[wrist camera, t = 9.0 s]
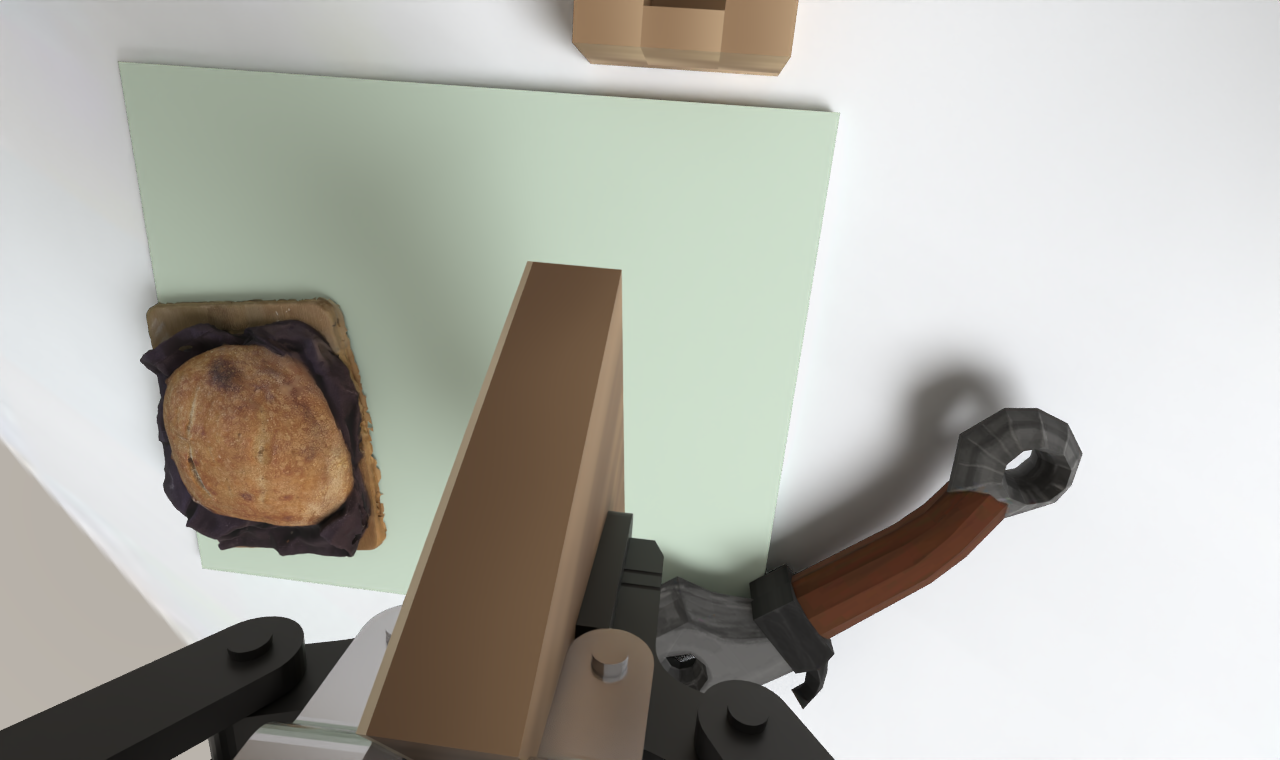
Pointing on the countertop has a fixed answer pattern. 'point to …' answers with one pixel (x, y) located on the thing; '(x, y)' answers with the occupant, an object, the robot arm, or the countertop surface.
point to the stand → (687, 34)
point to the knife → (865, 564)
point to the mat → (505, 273)
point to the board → (512, 532)
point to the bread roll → (265, 425)
